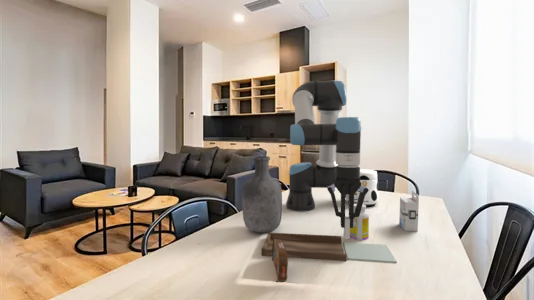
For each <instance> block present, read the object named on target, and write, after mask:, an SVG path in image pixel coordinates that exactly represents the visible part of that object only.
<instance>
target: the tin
mask: <svg viewBox="0 0 534 300" xmlns="http://www.w3.org/2000/svg"><path fill="white" fill-rule="evenodd" d="M271 260H272V262H273V264H274V269H275V273H276V277H277V279H276V281H275V282H286V281H287V279H288V267H289V258H288V256H287V251H286V248H285V246H284V243H283V241H282V240H279V239H274V240H273V244H272V256H271Z"/></svg>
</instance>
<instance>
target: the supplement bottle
mask: <svg viewBox="0 0 534 300" xmlns="http://www.w3.org/2000/svg"><path fill="white" fill-rule="evenodd" d="M356 205H357V204H354V212H355V209H356ZM366 209H367V206H366V205H364V204H363V205H362V208H361V212H360V215H359V217H355V218H354V219H353V228H350V238H351V239H353V240H355V241H356V240H357V241H366V240H368V239H369V236H370V235H369V234H370V233H369V232H370V231H369V230H370V227H369V226H370V225H369V224H370V223H369V221H370V220H369V219H370V218H369V217H370V215H369V213H368V212H367V211H366Z"/></svg>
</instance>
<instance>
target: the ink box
mask: <svg viewBox="0 0 534 300" xmlns="http://www.w3.org/2000/svg"><path fill="white" fill-rule="evenodd" d="M419 197H420V196H419V194H418V193H417V192H415V191H413V190H411V197H405V196H404V197H403V196H402V197H399V222H398V224H399V225H400V227H402V229H403V231H404V232H405V231H406V232H418V231H419V230H418V229H419V201H420V199H419Z"/></svg>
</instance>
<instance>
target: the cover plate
mask: <svg viewBox="0 0 534 300" xmlns="http://www.w3.org/2000/svg"><path fill="white" fill-rule="evenodd" d="M343 248H344V252H345V253H346V254H347V260H348V261H349V260H350V261H361V262H376V263H377V262H378V263H394V264H397V263H398V261H397V259H396V258H395V256H394V254H393V253H392V252H391V250H390V248H389V247H388V245H387V244H378V243H366V242H365V243H363V242H348V241H347V242H345V241H344V242H343Z"/></svg>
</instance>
